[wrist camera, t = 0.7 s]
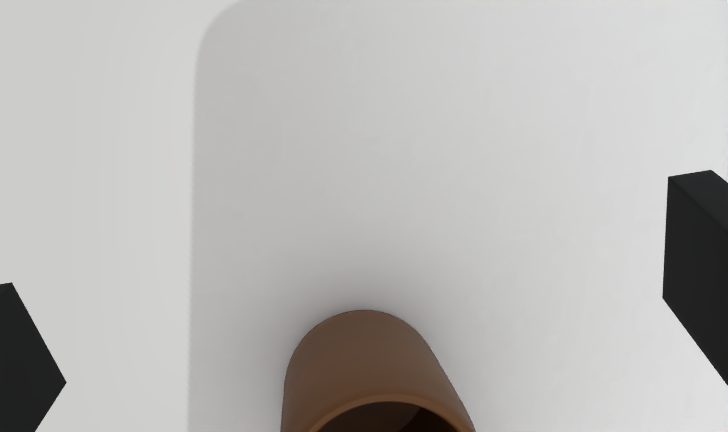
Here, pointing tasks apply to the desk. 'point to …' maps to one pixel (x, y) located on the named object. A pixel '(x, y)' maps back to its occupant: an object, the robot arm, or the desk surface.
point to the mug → (368, 380)
